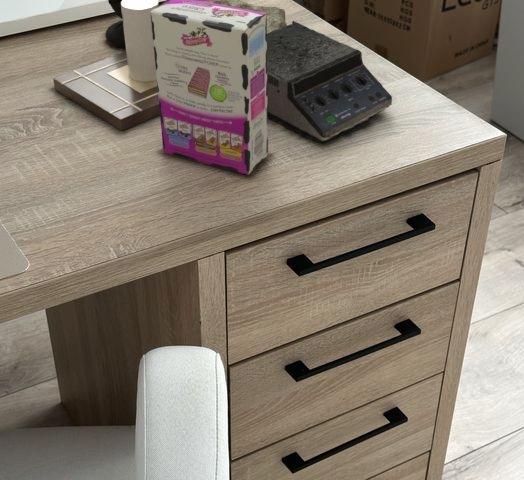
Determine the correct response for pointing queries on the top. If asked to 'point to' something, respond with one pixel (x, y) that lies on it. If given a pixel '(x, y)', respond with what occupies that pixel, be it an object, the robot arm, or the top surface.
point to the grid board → (111, 92)
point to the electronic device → (319, 84)
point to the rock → (273, 13)
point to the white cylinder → (139, 38)
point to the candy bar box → (212, 83)
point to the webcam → (116, 27)
